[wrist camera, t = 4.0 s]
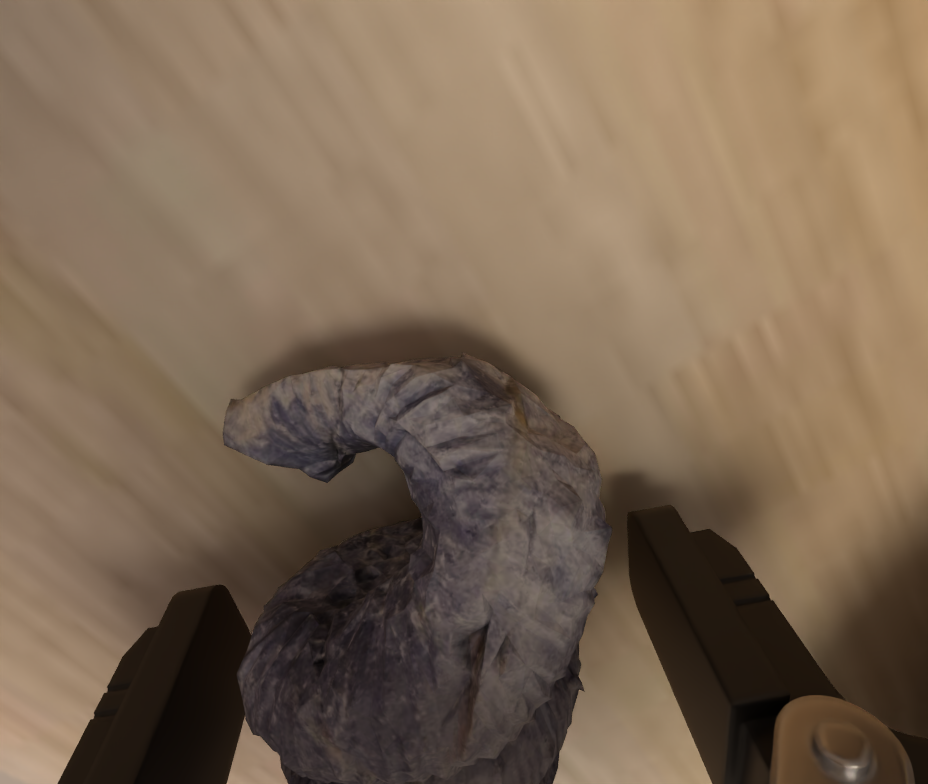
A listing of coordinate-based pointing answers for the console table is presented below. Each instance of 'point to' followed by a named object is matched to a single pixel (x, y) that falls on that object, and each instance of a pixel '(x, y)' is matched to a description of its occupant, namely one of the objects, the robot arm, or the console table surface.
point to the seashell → (427, 580)
